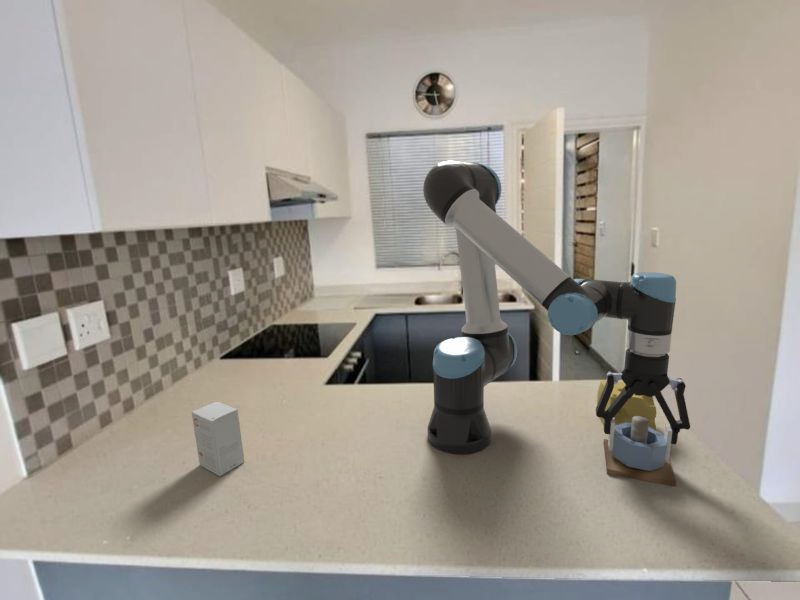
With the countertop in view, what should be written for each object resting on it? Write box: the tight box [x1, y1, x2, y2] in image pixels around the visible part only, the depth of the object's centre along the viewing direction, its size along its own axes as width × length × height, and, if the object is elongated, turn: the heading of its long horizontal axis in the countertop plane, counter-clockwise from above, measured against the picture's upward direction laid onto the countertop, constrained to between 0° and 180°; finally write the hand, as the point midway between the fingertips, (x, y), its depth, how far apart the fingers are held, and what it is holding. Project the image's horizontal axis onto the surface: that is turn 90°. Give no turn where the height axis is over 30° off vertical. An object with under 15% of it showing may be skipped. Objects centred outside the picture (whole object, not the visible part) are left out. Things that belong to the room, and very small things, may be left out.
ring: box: [612, 422, 667, 471], centre depth 89 cm, size 9×9×5 cm
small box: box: [191, 401, 245, 477], centre depth 93 cm, size 8×6×13 cm
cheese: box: [596, 380, 657, 431], centre depth 103 cm, size 10×11×10 cm
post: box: [603, 416, 677, 487], centre depth 88 cm, size 12×12×10 cm
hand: (637, 451), depth 89 cm, fingers closed on ring, 9 cm apart
